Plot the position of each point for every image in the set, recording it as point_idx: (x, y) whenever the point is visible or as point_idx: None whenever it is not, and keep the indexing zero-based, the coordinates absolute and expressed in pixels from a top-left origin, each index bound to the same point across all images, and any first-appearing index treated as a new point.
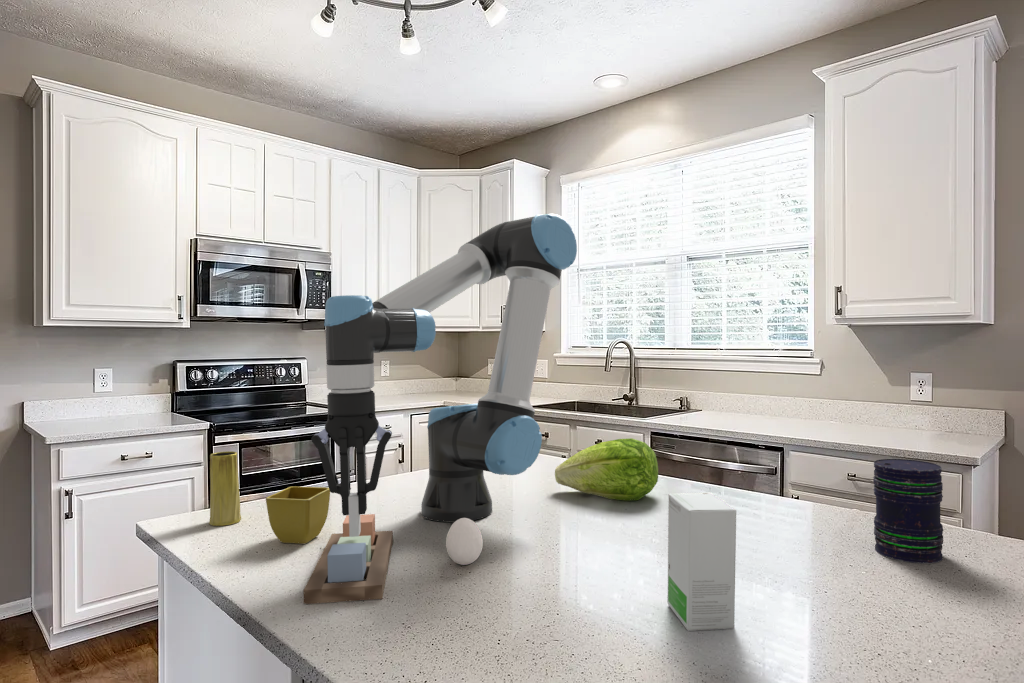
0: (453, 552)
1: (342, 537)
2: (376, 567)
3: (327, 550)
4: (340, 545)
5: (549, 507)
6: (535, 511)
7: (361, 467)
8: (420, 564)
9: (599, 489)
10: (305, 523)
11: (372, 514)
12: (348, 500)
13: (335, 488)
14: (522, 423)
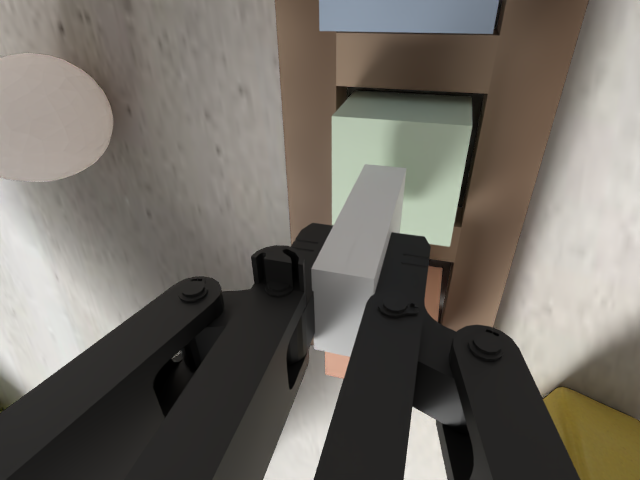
0: (67, 69)
1: (440, 238)
2: (309, 9)
3: (500, 246)
4: (449, 5)
5: (34, 377)
6: (51, 369)
7: (173, 448)
8: (209, 129)
9: None
10: (576, 429)
11: (332, 373)
12: (378, 265)
13: (466, 348)
14: None
